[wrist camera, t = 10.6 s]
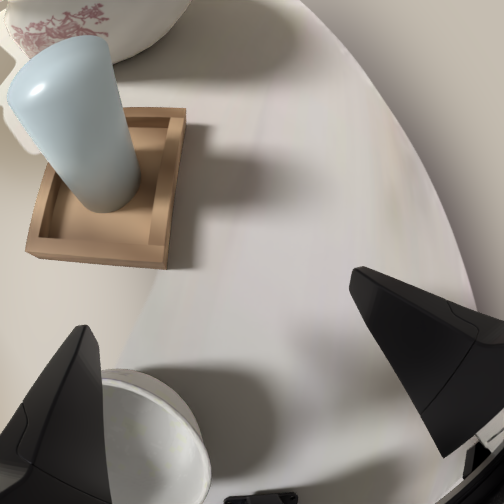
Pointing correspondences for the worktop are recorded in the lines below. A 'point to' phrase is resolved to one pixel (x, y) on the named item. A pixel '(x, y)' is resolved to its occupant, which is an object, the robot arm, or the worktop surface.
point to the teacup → (151, 442)
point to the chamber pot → (92, 23)
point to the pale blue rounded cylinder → (79, 120)
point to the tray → (126, 218)
